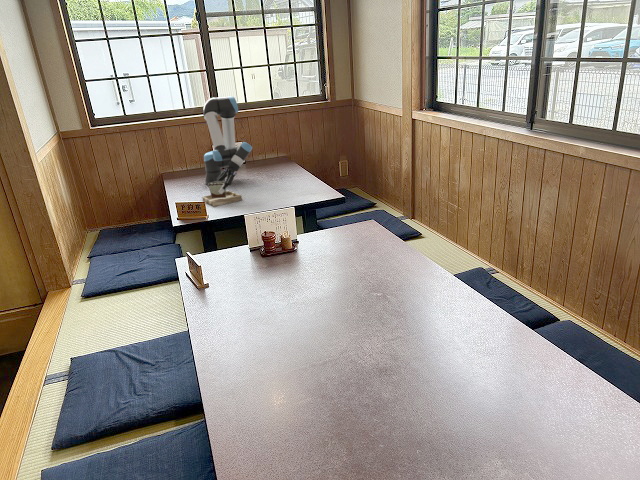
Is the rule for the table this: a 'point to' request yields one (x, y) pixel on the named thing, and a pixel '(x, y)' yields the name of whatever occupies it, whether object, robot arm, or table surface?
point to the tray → (222, 199)
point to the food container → (216, 189)
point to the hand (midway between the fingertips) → (216, 191)
